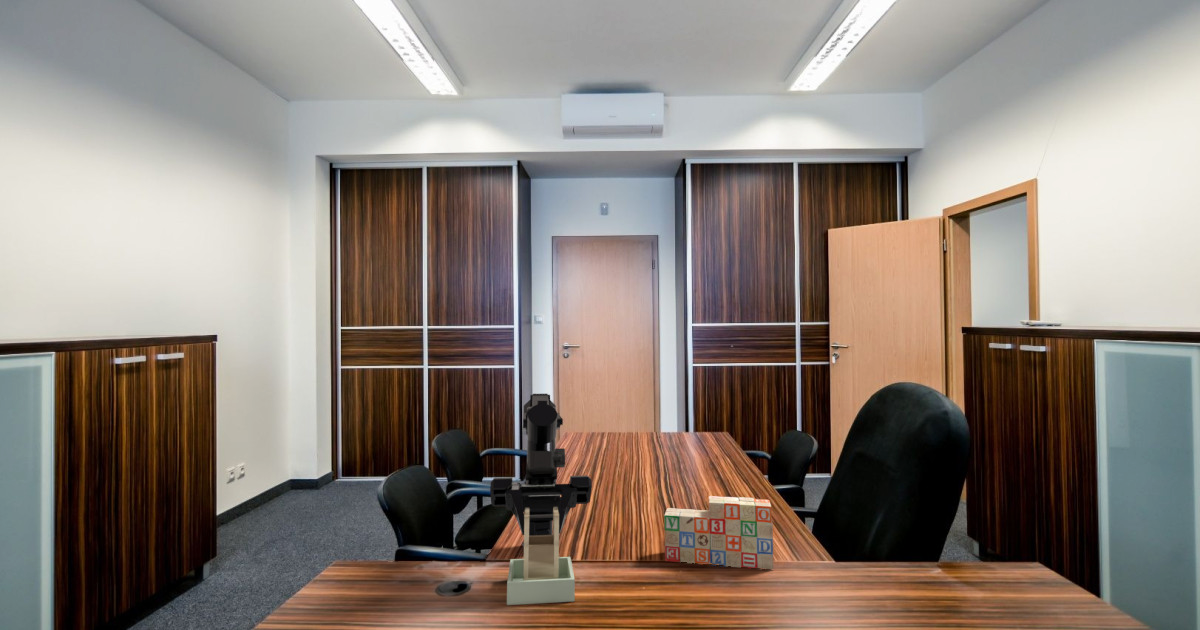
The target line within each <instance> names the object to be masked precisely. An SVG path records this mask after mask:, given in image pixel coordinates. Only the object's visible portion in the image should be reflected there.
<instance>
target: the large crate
mask: <svg viewBox="0 0 1200 630" xmlns="http://www.w3.org/2000/svg"><path fill="white" fill-rule="evenodd" d="M509 560H510V561H509V567H508V575H507V582H506V606H514V605H533V604H549V603H551V604H553V603H554V604H555V603H567V602H568V603H569V602H575V600H576V599H575V598H576V597H575V596H576V595H575V592H576V591H575V589H576V588H575V587H576V584H575V583H576V582H575V581H576V579H575V574H574V568H573V563H572V559H571V556H559V579H544V580H523V576H524V558H514V559H511V558H510V559H509Z"/></svg>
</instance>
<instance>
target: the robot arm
mask: <svg viewBox="0 0 1200 630" xmlns="http://www.w3.org/2000/svg"><path fill="white" fill-rule="evenodd" d="M529 397H530V399H529V400H528V401H527V402H526V403H525V404H524V405H523V410H522V411H523V412H522V413H523V415H522V416H523V417H522V418H523V419H522V424H523V425H522V429H523V431H525V434H526V436H527V446H526V452H527V453H526V466H525V467H526V468H525V481H524V483H523V484H521V483H520V482H516V481H515V482H513V480H514V479H513V477H512V476H511V477H509V476H508V477H494V478H493V479H492V480H491V481H490V486H489V487H490V489H489V491H490V503H491V504H490V505H491V506H492V507H494V508H495V507H505V509H506V510H508V511H511V512H512V514H513V515H514V517H515V519H516V521H517V524H518V526H519V530H520V533H521V535H522V536H524V515H525V508H529V536H536V535H553V507H558V512H559V535H560V534H561V532H562V529H563V526H564V524H565V520H566V518H567V516H568V514H569V512H570V510H571V509H573V508H576V507H577V505H585V504H586V505H587V504H589V503H590V502H591V495H592V490H593V489H592V487H593V484H592V483H593V482H592V478H591V477H590V476H589V475H570V477H569V483H557V480H558V468H559V469H560V468H566V467H565V466H566V449H565V448H556V437H557V430H560V429H561V426H563V423H564V420H563V418H562V416H561V415H560V413H559V412H557V407H556V404H555V403H554V402H553V400H552V399H551V395H550V394H549V393H532V394H530V396H529ZM521 546H522V548H524V542H521Z"/></svg>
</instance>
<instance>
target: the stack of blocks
mask: <svg viewBox="0 0 1200 630" xmlns="http://www.w3.org/2000/svg"><path fill="white" fill-rule="evenodd" d="M772 511H773V510H772V504H771V501H770V500H769V499H764V498H763V499H760V498H754V497H746V496H745V497H743V496H739V497H737V496H734V497H733V496H717V495H715V496H713V495H709V496H708V510H705V509H701V510H700V509H690V508H689V509H688V508H687V509H686V508H674V507H667V508H666V510H665V513H664V517H663V518H664V521H663V522H664V561H665V562H673V563H681V562H687V563H686V564H692V563H694V564H695V563H707V564H708V563H709V564H710V563H712V564H719V565H724V566H723V567H728V566H731V568H741V567H748V568H747V569H751V568H764V569H765V568H766V569H774V539H773V538H774V535H773V534H774V529H773V528H774V525H773V519H772V518H773V517H772V514H773V513H772ZM774 570H775V569H774Z"/></svg>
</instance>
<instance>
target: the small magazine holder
mask: <svg viewBox="0 0 1200 630" xmlns="http://www.w3.org/2000/svg"><path fill="white" fill-rule="evenodd" d="M523 543H524V547H523V559H524V576H523V580H544V579H559V557H560V553H559V552H560V548H559V547H560V534H559V512H558V507H553V524H552V535H536V536H529V508H525V515H524V535H523Z"/></svg>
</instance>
